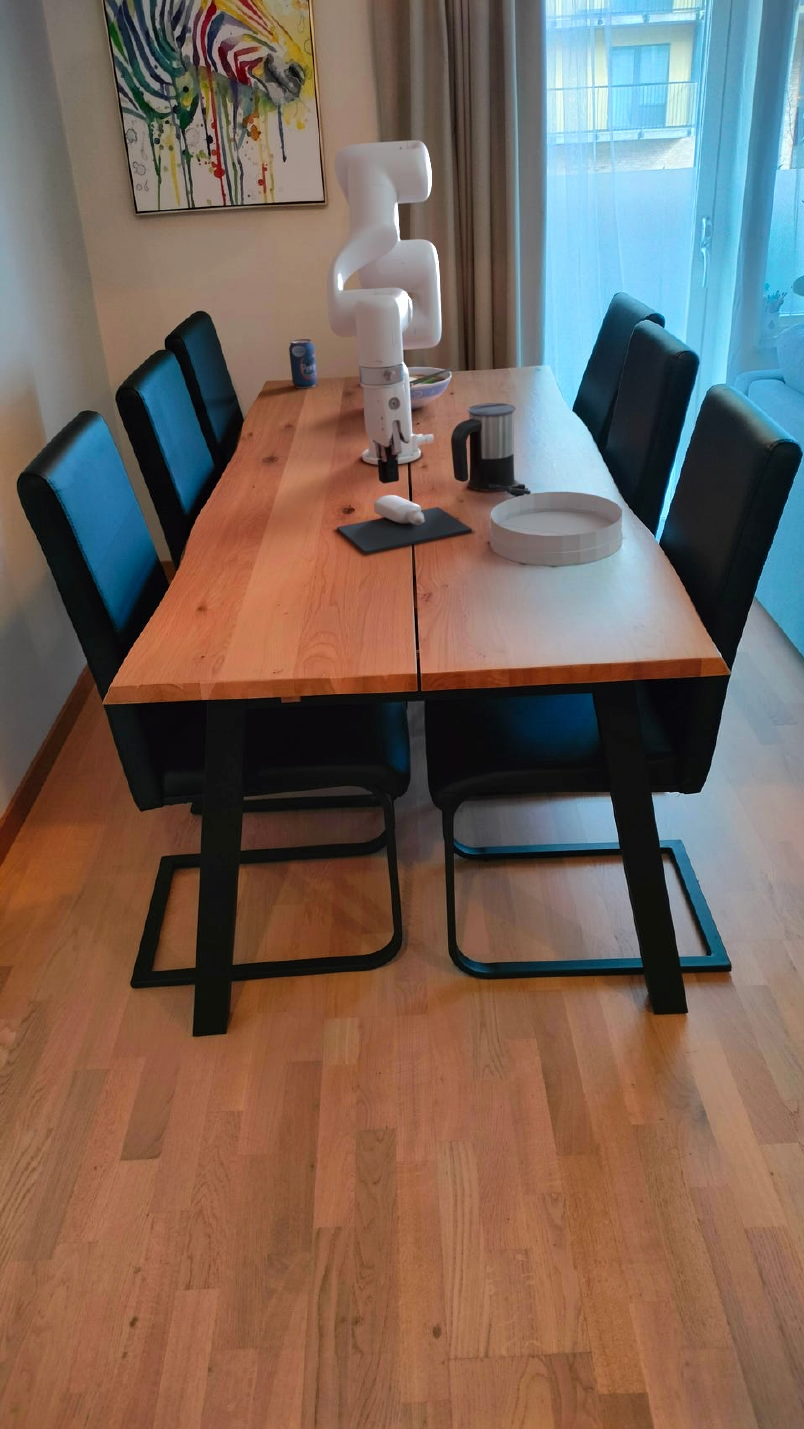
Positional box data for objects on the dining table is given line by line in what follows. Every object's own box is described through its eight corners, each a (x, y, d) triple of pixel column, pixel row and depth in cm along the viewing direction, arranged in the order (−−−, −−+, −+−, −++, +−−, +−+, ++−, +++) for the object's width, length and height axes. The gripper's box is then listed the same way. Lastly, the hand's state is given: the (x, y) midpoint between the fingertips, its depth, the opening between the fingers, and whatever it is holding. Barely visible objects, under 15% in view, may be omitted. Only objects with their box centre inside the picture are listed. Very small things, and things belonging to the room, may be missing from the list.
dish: (590, 574, 160) (591, 544, 158) (466, 554, 171) (465, 525, 168) (642, 528, 176) (643, 500, 174) (525, 512, 187) (525, 485, 184)
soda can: (307, 389, 284) (303, 344, 278) (288, 387, 287) (283, 343, 281) (322, 384, 289) (318, 339, 283) (303, 382, 292) (298, 338, 286)
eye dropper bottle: (379, 487, 186) (416, 503, 177) (401, 497, 190) (439, 513, 181) (369, 510, 187) (406, 527, 178) (392, 520, 191) (429, 537, 182)
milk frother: (484, 475, 208) (483, 400, 200) (554, 485, 199) (555, 407, 192) (446, 495, 198) (443, 418, 190) (517, 507, 189) (517, 426, 182)
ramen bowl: (400, 392, 275) (398, 360, 271) (473, 399, 263) (472, 366, 259) (342, 414, 258) (339, 380, 254) (416, 423, 246) (414, 388, 242)
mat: (437, 509, 191) (437, 506, 191) (471, 532, 180) (471, 529, 179) (336, 530, 185) (336, 527, 184) (365, 554, 173) (365, 551, 173)
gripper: (420, 379, 168) (425, 488, 178) (385, 364, 181) (392, 467, 190) (377, 386, 166) (385, 496, 175) (345, 370, 178) (354, 474, 187)
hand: (389, 481), depth 182 cm, fingers closed
